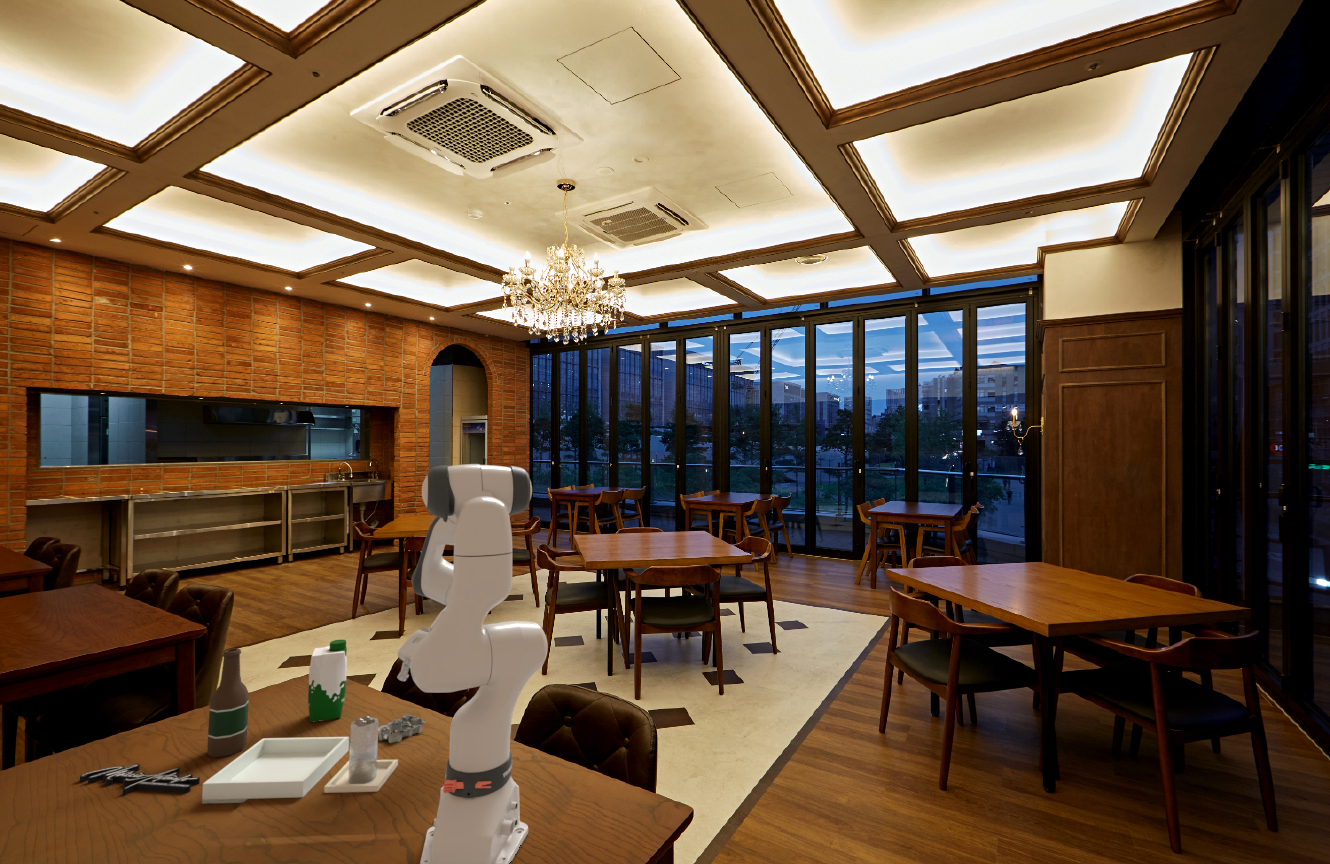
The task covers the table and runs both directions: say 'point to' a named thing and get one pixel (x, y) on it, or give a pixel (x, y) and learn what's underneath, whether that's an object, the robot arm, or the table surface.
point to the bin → (275, 769)
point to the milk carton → (327, 681)
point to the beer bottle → (228, 710)
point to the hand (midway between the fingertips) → (413, 683)
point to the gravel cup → (363, 750)
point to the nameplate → (142, 779)
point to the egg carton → (401, 728)
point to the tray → (342, 784)
